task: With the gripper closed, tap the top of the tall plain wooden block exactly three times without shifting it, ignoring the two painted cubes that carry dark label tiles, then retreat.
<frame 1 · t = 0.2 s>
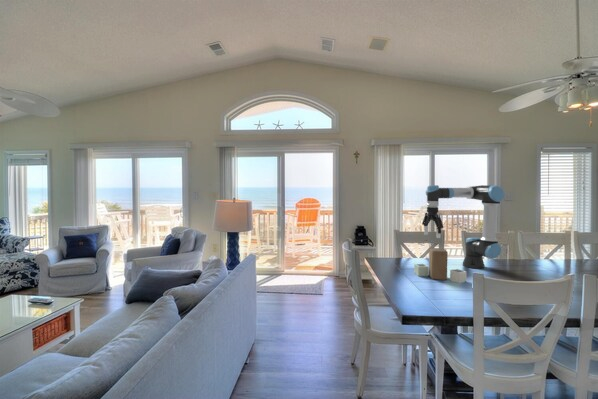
hand: (432, 236, 221), 28 cm above the table, fingers open, 13 cm apart
cream labelled cube: (458, 281, 209), on the table
wooden block: (437, 278, 216), on the table
sage labelled cube: (421, 274, 223), on the table
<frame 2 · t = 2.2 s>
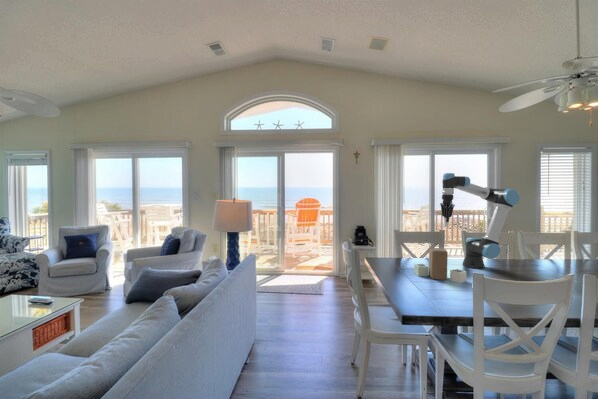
hand: (446, 226, 226), 35 cm above the table, fingers closed
nothing on the table moved.
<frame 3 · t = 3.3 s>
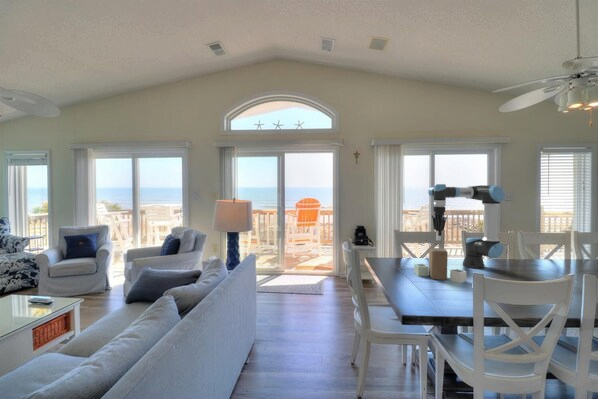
hand: (438, 240, 214), 27 cm above the table, fingers closed
nothing on the table moved.
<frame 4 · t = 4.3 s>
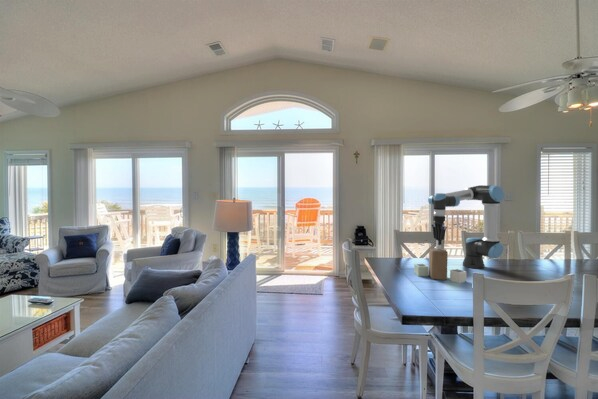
hand: (438, 249, 215), 20 cm above the table, fingers closed
nothing on the table moved.
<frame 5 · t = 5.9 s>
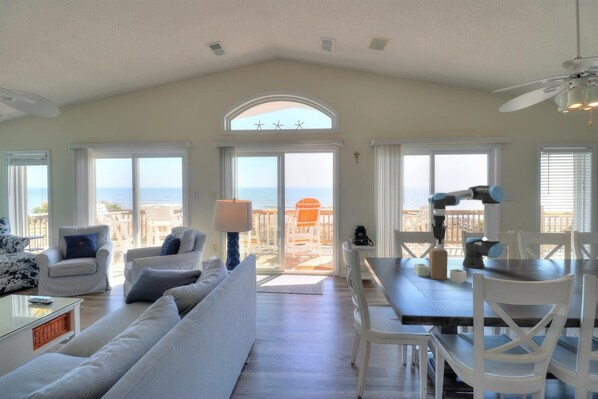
hand: (438, 248, 215), 21 cm above the table, fingers closed
nothing on the table moved.
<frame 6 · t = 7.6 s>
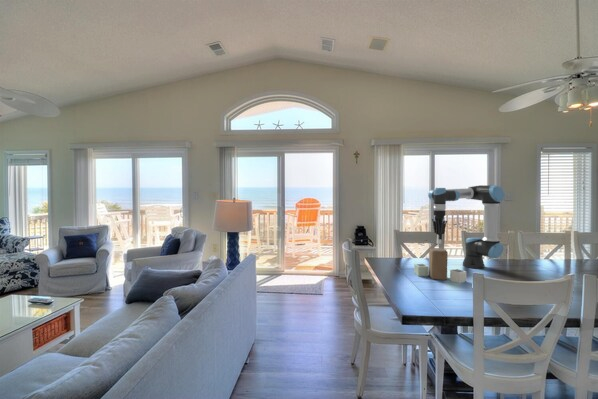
hand: (439, 243, 215), 24 cm above the table, fingers closed
nothing on the table moved.
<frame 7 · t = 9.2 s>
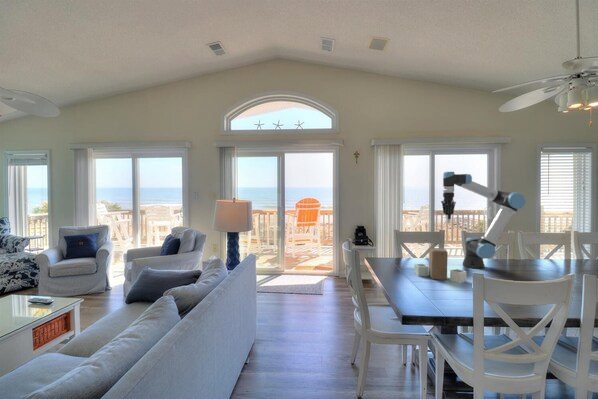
hand: (448, 223, 233), 36 cm above the table, fingers closed
nothing on the table moved.
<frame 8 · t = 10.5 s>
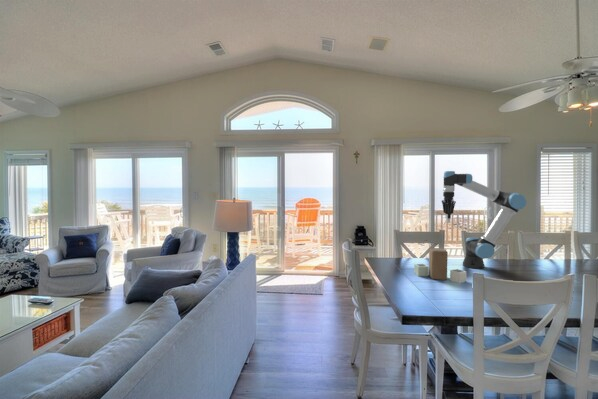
hand: (447, 222, 234), 36 cm above the table, fingers closed
nothing on the table moved.
at the end: wooden block moved 0.2 cm from its start; wooden block tilted 0°; sage labelled cube moved 0.1 cm from its start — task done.
